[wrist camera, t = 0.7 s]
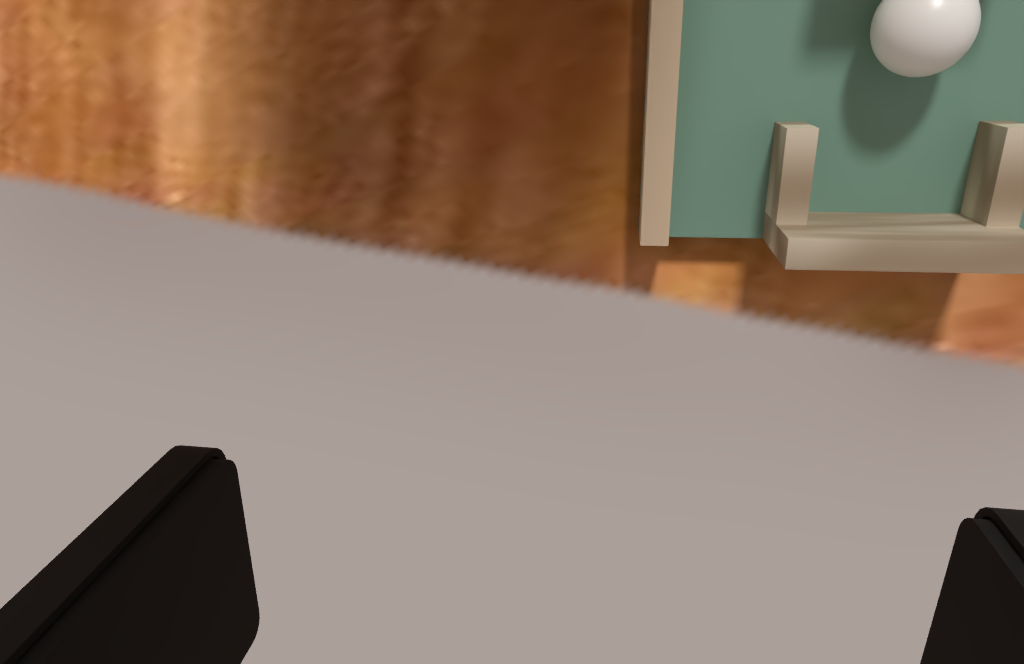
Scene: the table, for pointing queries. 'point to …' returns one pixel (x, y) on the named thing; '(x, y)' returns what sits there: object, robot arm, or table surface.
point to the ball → (923, 34)
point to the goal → (900, 214)
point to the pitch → (808, 112)
